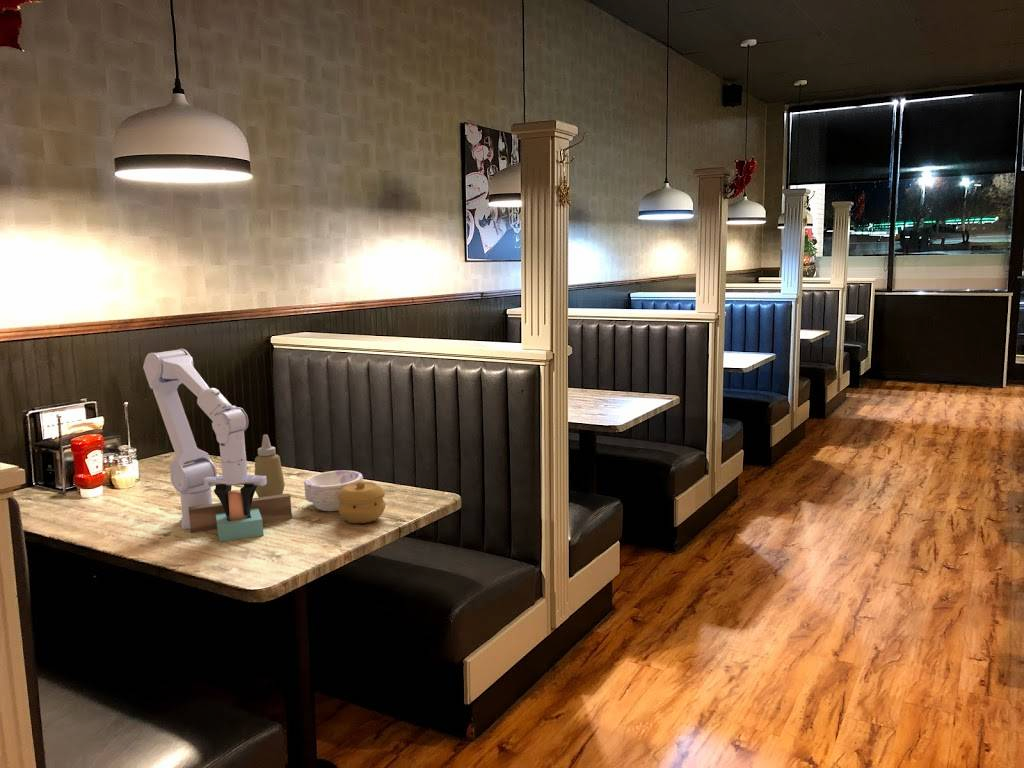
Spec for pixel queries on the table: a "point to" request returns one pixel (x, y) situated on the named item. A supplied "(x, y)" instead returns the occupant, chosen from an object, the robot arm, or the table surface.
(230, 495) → the dowel
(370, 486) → the pot
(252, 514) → the sliding block
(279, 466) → the squeeze bottle
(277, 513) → the backstop wall
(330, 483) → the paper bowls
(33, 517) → the table surface
